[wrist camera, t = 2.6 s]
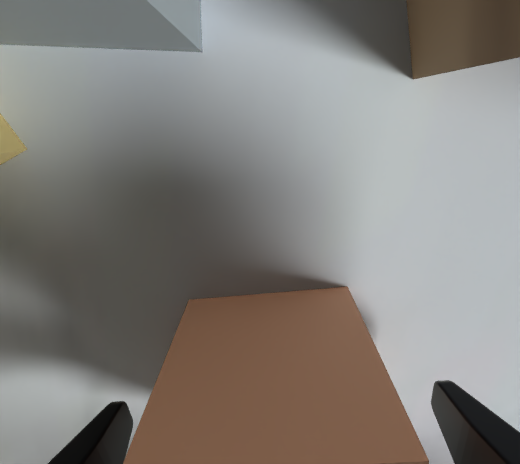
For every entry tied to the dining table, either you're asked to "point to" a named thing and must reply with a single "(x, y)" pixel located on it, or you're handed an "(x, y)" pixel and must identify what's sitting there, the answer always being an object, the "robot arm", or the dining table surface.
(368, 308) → the dining table surface
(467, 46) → the walnut cube
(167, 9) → the slate cube
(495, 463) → the robot arm
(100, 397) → the dining table surface
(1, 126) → the ochre cube
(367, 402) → the terracotta cube
